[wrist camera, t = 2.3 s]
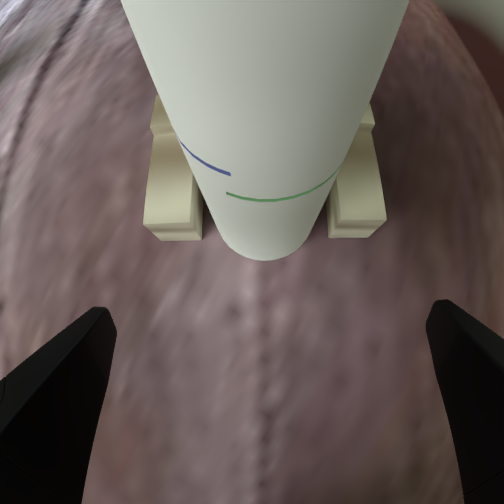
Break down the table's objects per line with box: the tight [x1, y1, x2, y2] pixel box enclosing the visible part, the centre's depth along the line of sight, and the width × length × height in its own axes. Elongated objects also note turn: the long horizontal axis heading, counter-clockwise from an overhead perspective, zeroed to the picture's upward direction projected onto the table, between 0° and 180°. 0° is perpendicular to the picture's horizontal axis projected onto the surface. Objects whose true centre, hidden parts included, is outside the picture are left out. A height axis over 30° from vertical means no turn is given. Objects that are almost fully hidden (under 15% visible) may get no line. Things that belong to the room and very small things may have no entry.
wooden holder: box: [143, 95, 387, 241], centre depth 21 cm, size 10×15×5 cm, turn 91°
